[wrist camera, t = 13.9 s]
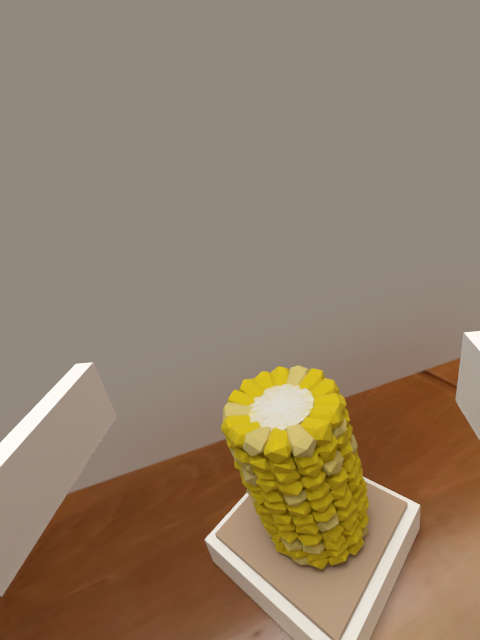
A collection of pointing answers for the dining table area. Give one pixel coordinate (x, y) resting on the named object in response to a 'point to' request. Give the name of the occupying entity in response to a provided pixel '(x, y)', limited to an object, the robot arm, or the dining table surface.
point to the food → (299, 463)
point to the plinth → (319, 570)
